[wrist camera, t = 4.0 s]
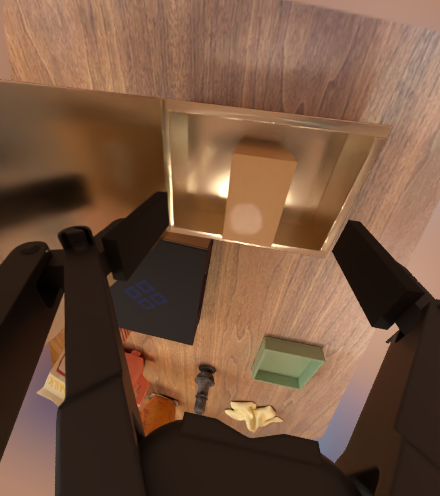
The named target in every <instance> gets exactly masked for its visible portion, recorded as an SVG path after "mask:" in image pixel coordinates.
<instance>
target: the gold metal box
mask: <svg viewBox="0 0 440 496" xmlns="http://www.w3.org/2000/svg"><path fill="white" fill-rule="evenodd" d="M160 105H161V121H162V137H163V153H164V168H165V184H166V192H167V196H168V213H169V226H168V231H169V232H173V233H179V234H185V235H191V236H197V237H203V238H209V239H215V240H220V241H226V242H232V243H238V244H244V245H250V246H256V247H262V248H268V249H274V250H280V251H285V252H291V253H297V254H303V255H309V256H315V257H321V258H325V257H326V255H327V252H328V251H329V249H330V247H331V245H332V243H333V241H334V239H335V237H336V236H337V234H338V232H339V230H340V228H341V226H342V224H343V222H344V220H345V218H346V216H347V214H348V212H349V211H350V209H351V207H352V205H353V203H354V201H355V199H356V197H357V195H358V193H359V191H360V189H361V187H362V186H363V184H364V182H365V180H366V178H367V176H368V174H369V172H370V170H371V168H372V166H373V164H374V162H375V161H376V159H377V157H378V155H379V153H380V151H381V149H382V147H383V145H384V143H385V141H386V138H387V137H388V136H389V134H390V132H391V130H392V128H393V126H390V125H382V124H374V123H366V122H358V121H350V120H341V119H333V118H325V117H316V116H308V115H300V114H291V113H283V112H275V111H266V110H258V109H250V108H242V107H233V106H225V105H217V104H208V103H200V102H192V101H183V100H175V99H166V98H160ZM241 138H246V139H253V140H261V141H269V142H276V143H284V145H285V146H286V147H287V149H288V150H289V151H290V153H291V154H292V155H293V157H294V158H295V159H296V161H297V166H296V169H295V172H294V176H293V179H292V182H291V185H290V189H289V192H288V195H287V198H286V202H285V205H284V208H283V211H282V215H281V218H280V221H279V224H278V228H277V231H276V234H275V238H274V241H273V244H272V247H267V246H261V245H255V244H249V243H244V242H238V241H232V240H226V239H222V235H223V227H224V219H225V211H226V203H227V195H228V186H229V178H230V170H231V162H232V154H233V152H234V150H235V148H236V147H237V145H238V143H239V141H240V140H241Z"/></svg>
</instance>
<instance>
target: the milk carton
mask: <svg viewBox="0 0 440 496" xmlns="http://www.w3.org/2000/svg"><path fill="white" fill-rule="evenodd" d="M119 330H120V334H121V339H122V343H123V344H124V343H125V341H126V340H127V338H128V336H129V335H130V333H131V330H127V329H123V328H119ZM37 394H39V395H42V396H43V397H46V398H48V399H50V400H52V401H53V402H54V403H55V404H57V405H58V406H59V405H60V404H61V403H62V402H63V401H64V399H65V349H64V350H63V352H62V353H61V355H60V357H59V358H58V360H57V361H56V363H55V365H54V366H53V368H52V370H51V371H50V373H49V375H48V378H47V380H46V383H45V385H44V387H43V388H42V389H41V390H39V391H38V392H37Z"/></svg>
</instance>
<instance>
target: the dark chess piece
mask: <svg viewBox="0 0 440 496" xmlns="http://www.w3.org/2000/svg"><path fill="white" fill-rule="evenodd" d="M199 370H200V371H201V372H200V373H199V374H198V375H197V378H196V379H195V382H196V383H197V384H198V391H197V395H196V396H195V397H196V402H195V407H194V411H195V413H196V414H197V415H201V414H203V413H204V411H205V405H206V400H208V397H207V395H208V390H209V388H210V387H212V386H214V384H215V383H214V377H213V375H212V374H214V373H215V372H216V370H215V369H214V368H213V367H211V366H208V365H201V366H199Z"/></svg>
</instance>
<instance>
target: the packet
mask: <svg viewBox="0 0 440 496" xmlns="http://www.w3.org/2000/svg"><path fill="white" fill-rule="evenodd" d="M296 166H297V161H296V159H295V158H294V157H293V155H292V154H291V153H290V151H289V150H288V149H287V147H286V146H285V145H284V143H276V142H269V141H261V140H253V139H246V138H241V140H240V141H239V143H238V145H237V147H236V148H235V150H234V152H233V154H232V162H231V170H230V178H229V186H228V195H227V203H226V211H225V219H224V227H223V235H222V239H226V240H232V241H238V242H244V243H249V244H255V245H261V246H267V247H272V244H273V241H274V238H275V234H276V231H277V228H278V224H279V221H280V218H281V215H282V211H283V208H284V205H285V202H286V198H287V195H288V192H289V189H290V185H291V182H292V179H293V176H294V172H295V169H296Z"/></svg>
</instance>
